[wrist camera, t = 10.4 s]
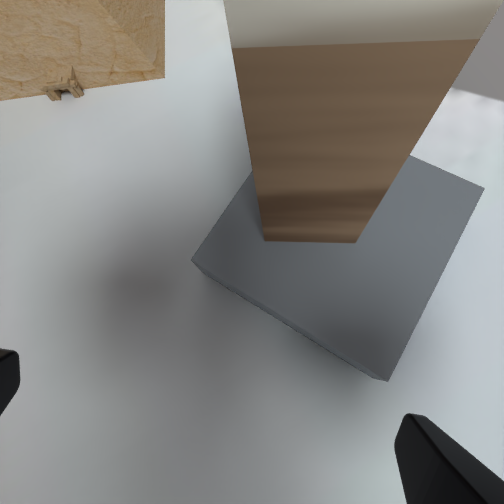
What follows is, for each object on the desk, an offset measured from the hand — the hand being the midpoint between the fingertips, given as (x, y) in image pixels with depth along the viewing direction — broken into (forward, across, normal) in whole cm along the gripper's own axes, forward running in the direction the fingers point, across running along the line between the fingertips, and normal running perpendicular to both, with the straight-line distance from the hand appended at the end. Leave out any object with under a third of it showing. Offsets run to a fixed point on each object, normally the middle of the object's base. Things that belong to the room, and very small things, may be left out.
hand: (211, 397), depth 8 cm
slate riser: (+15, -6, 0) cm, 16 cm away
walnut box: (+13, -3, -3) cm, 14 cm away
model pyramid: (+29, +18, -13) cm, 36 cm away
